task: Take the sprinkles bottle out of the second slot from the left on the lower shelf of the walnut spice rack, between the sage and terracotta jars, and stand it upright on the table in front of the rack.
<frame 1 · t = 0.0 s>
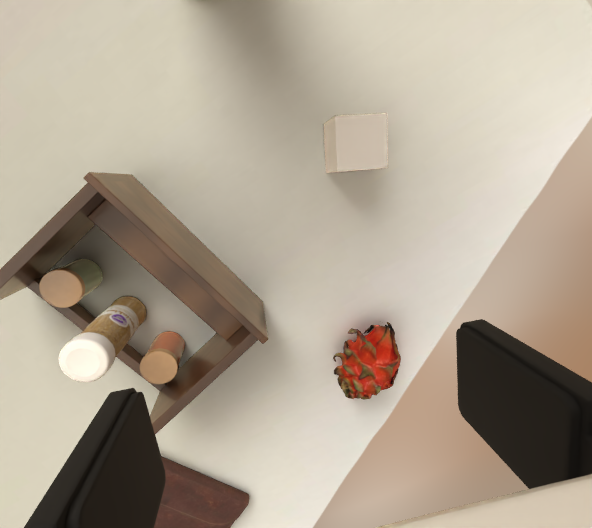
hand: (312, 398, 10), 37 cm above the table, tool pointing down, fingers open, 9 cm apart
notebook: (168, 503, 54), on the table
dragon fruit: (359, 347, 52), on the table
sprinkles bottle: (129, 311, 46), resting in spice rack
light grey cube: (346, 147, 45), on the table
spice rack: (152, 288, 46), on the table
sage jar: (84, 274, 44), resting in spice rack
terracotta jar: (169, 345, 48), resting in spice rack
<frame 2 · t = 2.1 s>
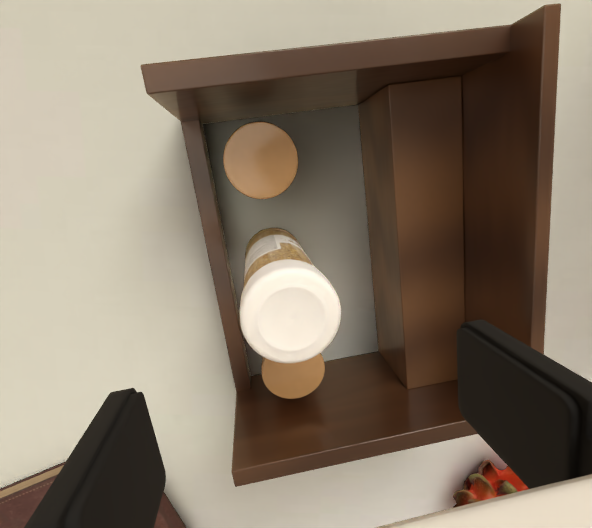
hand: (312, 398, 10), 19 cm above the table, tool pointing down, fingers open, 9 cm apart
dragon fruit: (485, 473, 37), on the table
sprinkles bottle: (272, 254, 28), resting in spice rack
spice rack: (327, 245, 29), on the table
sage jar: (258, 164, 26), resting in spice rack
terracotta jar: (285, 333, 30), resting in spice rack
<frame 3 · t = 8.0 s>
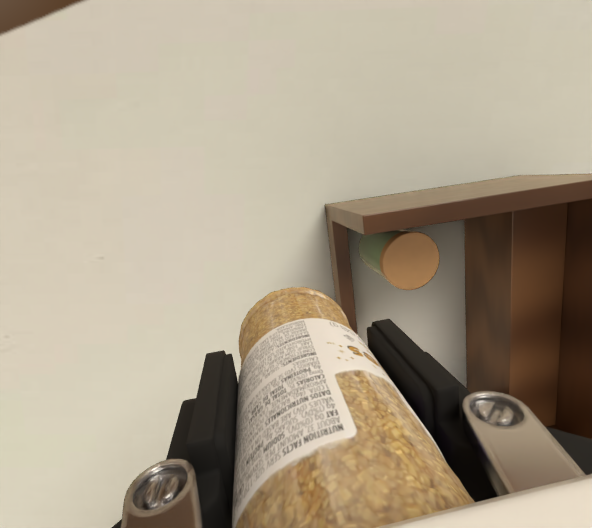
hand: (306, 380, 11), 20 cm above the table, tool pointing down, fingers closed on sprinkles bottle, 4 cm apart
sprinkles bottle: (292, 334, 15), point 16 cm above the table, touching gripper
spice rack: (431, 310, 34), on the table
sage jar: (381, 246, 32), resting in spice rack
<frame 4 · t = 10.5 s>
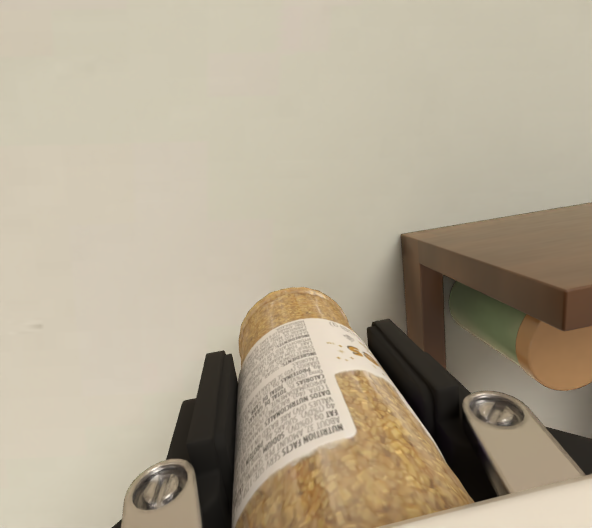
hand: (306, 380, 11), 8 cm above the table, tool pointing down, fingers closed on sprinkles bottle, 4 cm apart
sprinkles bottle: (292, 334, 15), point 4 cm above the table, touching gripper
spice rack: (548, 387, 22), on the table
sage jar: (482, 297, 20), resting in spice rack
when the fingers open (3 cm above the table, at t = 11.9 s): sprinkles bottle stays where it is, on the table.
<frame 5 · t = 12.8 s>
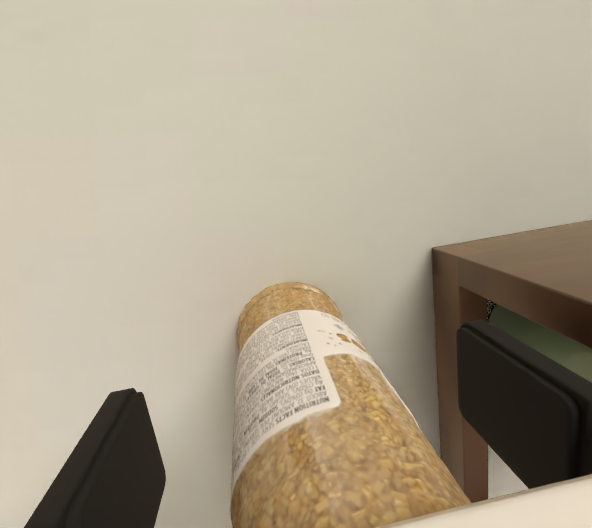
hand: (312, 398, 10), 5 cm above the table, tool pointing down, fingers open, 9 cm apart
sprinkles bottle: (287, 327, 15), on the table
sage jar: (527, 322, 17), resting in spice rack
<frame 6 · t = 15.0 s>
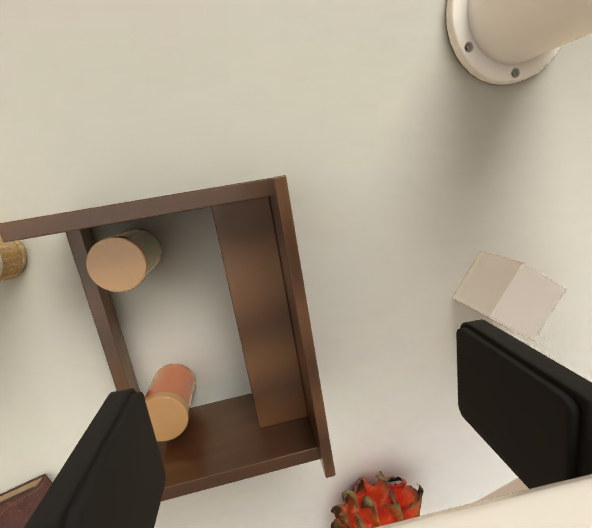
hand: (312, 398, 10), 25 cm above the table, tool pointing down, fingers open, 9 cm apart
dragon fruit: (366, 489, 43), on the table
sprinkles bottle: (1, 253, 31), on the table
light grey cube: (485, 285, 40), on the table
spice rack: (202, 310, 35), on the table
sage jar: (138, 251, 33), resting in spice rack
terracotta jar: (174, 382, 36), resting in spice rack
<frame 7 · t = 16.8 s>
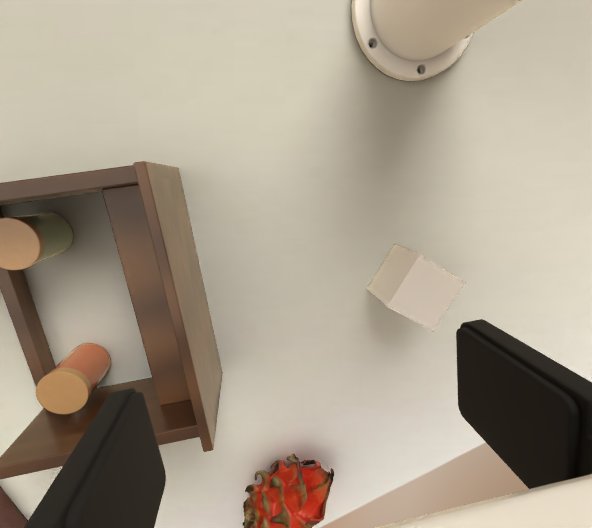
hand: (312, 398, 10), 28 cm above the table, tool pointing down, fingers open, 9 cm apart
dragon fruit: (285, 471, 45), on the table
light grey cube: (400, 277, 41), on the table
spice rack: (116, 292, 37), on the table
sage jar: (49, 233, 34), resting in spice rack
terracotta jar: (90, 361, 38), resting in spice rack
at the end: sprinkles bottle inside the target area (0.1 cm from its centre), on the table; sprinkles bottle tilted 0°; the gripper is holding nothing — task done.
